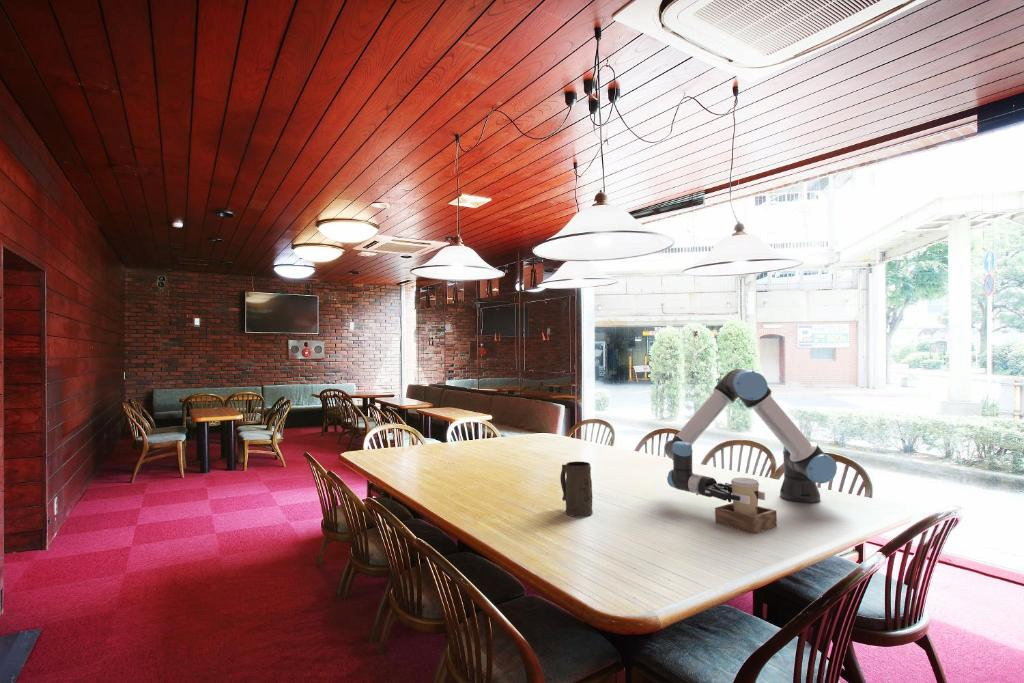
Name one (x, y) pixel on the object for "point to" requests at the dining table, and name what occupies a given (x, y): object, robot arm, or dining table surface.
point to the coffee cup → (748, 489)
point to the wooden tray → (746, 519)
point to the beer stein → (577, 488)
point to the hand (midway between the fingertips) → (756, 498)
